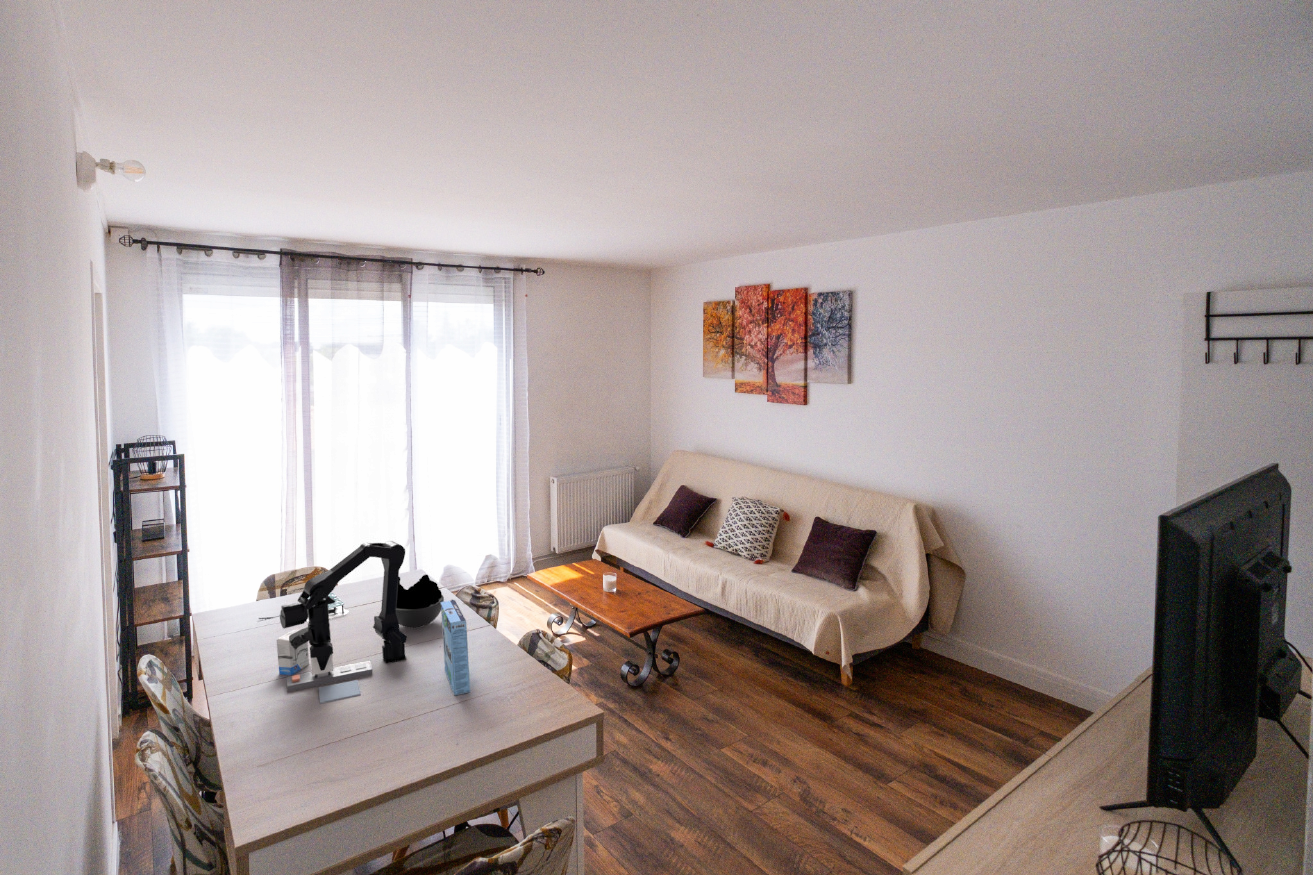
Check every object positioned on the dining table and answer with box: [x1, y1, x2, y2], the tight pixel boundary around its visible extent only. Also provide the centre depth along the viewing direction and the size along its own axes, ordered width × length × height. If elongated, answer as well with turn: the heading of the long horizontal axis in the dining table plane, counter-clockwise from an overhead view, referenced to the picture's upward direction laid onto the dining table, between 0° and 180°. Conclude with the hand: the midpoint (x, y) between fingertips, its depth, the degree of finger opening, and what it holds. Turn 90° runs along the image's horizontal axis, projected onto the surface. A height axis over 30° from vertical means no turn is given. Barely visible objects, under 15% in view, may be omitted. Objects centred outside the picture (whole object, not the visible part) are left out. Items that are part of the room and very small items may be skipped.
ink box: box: [276, 629, 310, 676], centre depth 228 cm, size 9×5×12 cm, turn 168°
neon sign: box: [258, 592, 349, 623], centre depth 275 cm, size 21×4×29 cm
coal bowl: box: [396, 574, 445, 629], centre depth 262 cm, size 20×20×19 cm
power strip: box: [286, 660, 373, 693], centre depth 222 cm, size 24×7×3 cm, turn 117°
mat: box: [318, 679, 361, 705], centre depth 213 cm, size 11×10×1 cm
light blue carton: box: [440, 599, 471, 696], centre depth 219 cm, size 20×5×23 cm, turn 25°
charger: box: [310, 654, 334, 678], centre depth 220 cm, size 6×4×10 cm
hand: (322, 666), depth 220 cm, fingers closed on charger, 4 cm apart
